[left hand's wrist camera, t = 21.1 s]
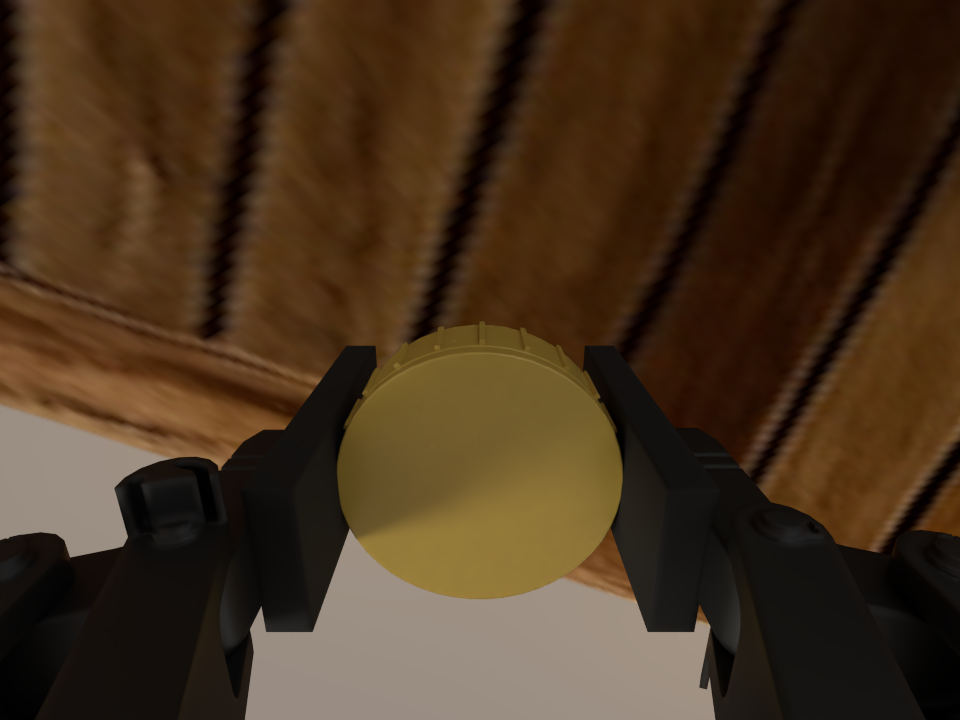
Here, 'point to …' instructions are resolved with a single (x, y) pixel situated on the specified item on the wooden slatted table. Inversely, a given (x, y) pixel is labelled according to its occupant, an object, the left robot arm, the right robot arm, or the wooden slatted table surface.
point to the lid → (479, 463)
